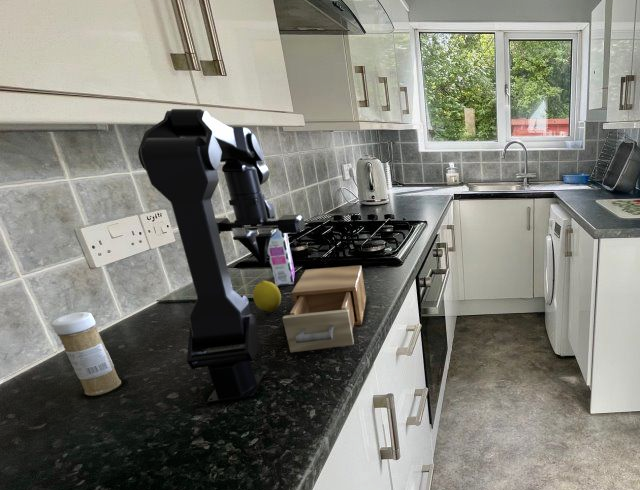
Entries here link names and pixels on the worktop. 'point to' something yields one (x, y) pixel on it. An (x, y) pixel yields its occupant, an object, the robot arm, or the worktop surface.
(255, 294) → the lemon
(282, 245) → the candy bar box
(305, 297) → the drawer
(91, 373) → the sprinkles bottle
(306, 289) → the cabinet
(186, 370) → the worktop surface
